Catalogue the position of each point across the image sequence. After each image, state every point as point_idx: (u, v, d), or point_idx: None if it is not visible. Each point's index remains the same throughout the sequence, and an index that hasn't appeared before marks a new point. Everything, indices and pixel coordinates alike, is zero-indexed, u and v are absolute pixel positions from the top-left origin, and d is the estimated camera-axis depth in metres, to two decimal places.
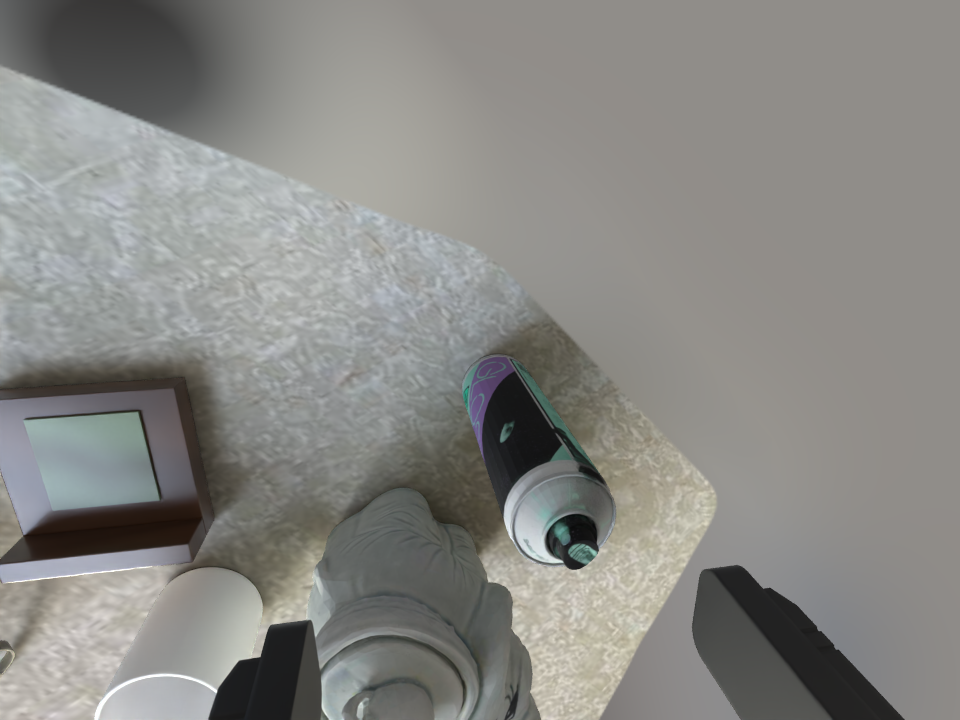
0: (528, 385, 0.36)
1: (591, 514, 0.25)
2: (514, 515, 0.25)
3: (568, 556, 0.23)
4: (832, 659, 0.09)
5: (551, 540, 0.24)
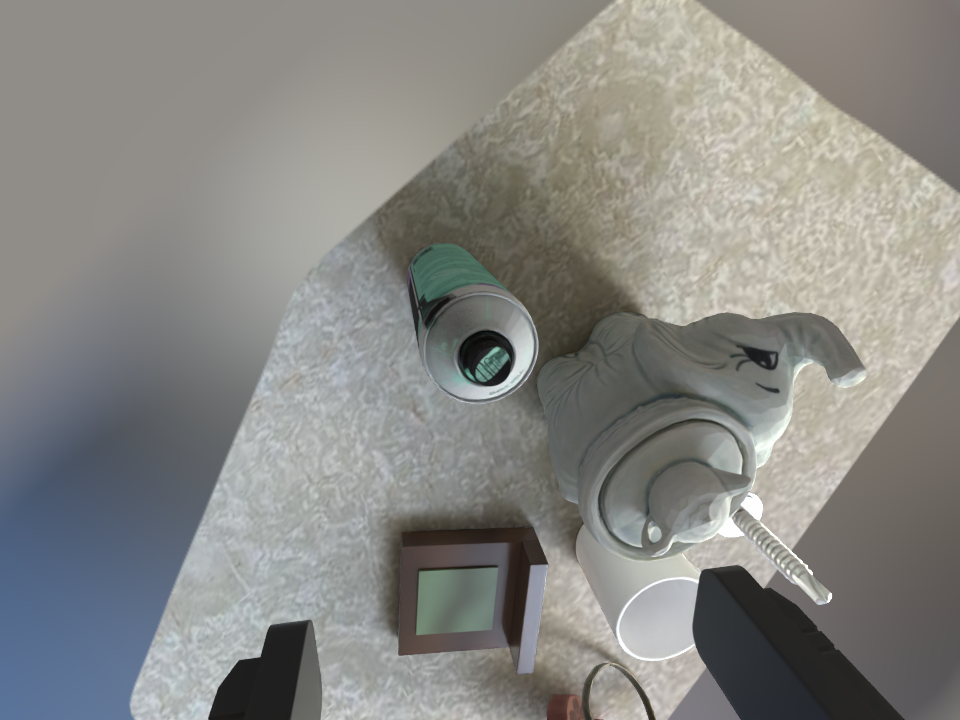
0: (413, 279, 0.34)
1: (463, 335, 0.23)
2: (463, 399, 0.25)
3: (490, 381, 0.22)
4: (832, 659, 0.09)
5: None
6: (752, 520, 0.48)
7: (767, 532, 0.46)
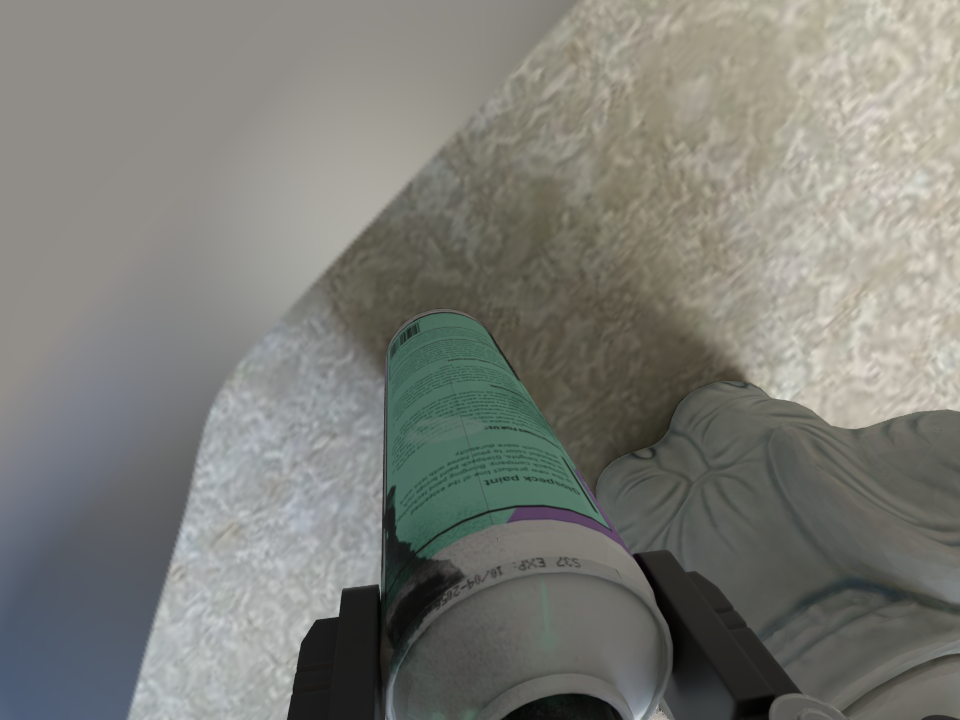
0: (387, 399, 0.19)
1: (487, 713, 0.08)
2: None
3: None
4: (742, 636, 0.10)
5: None
6: None
7: None
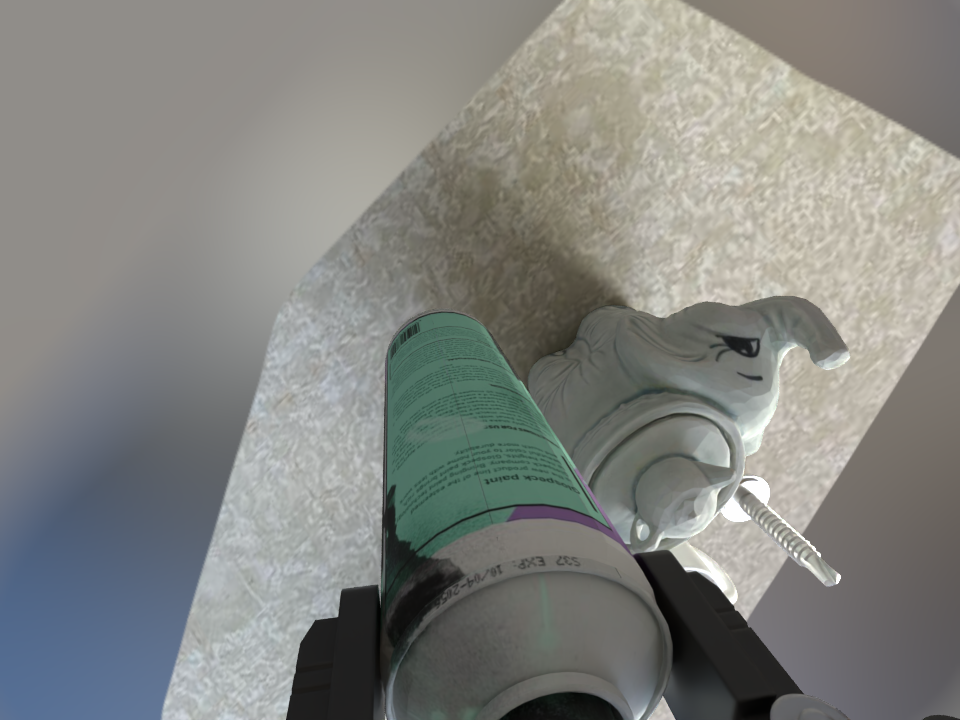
0: (387, 399, 0.19)
1: (487, 712, 0.08)
2: None
3: None
4: (743, 636, 0.10)
5: None
6: (758, 504, 0.47)
7: (774, 515, 0.46)
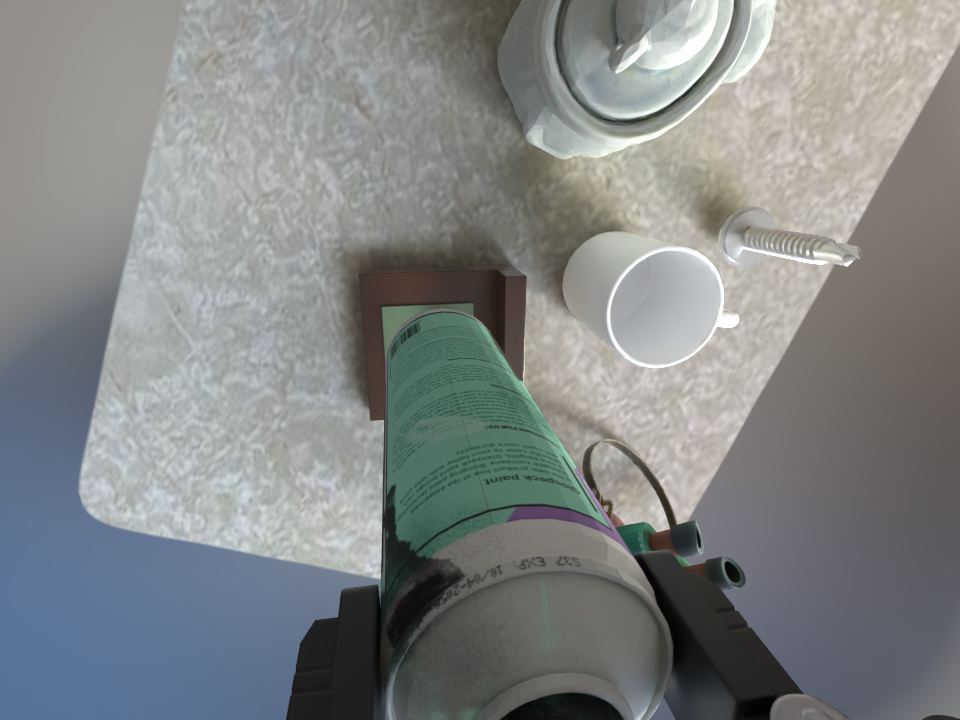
0: (387, 398, 0.19)
1: (487, 713, 0.08)
2: None
3: None
4: (743, 636, 0.10)
5: None
6: (763, 229, 0.41)
7: (781, 231, 0.40)
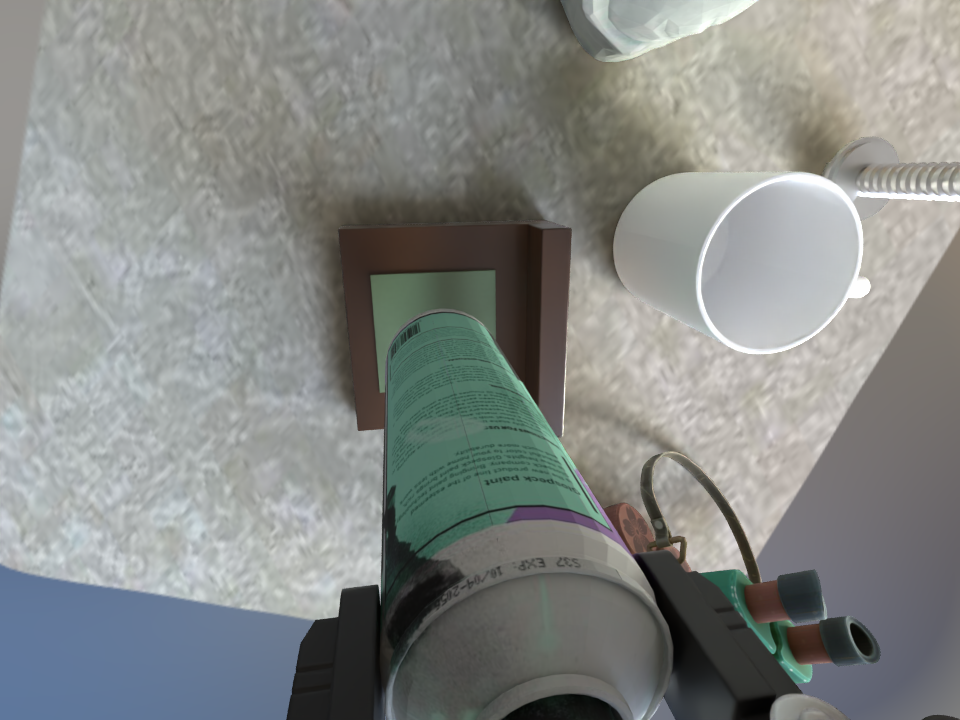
0: (387, 399, 0.19)
1: (487, 714, 0.08)
2: None
3: None
4: (742, 636, 0.10)
5: None
6: (892, 165, 0.30)
7: (924, 165, 0.28)
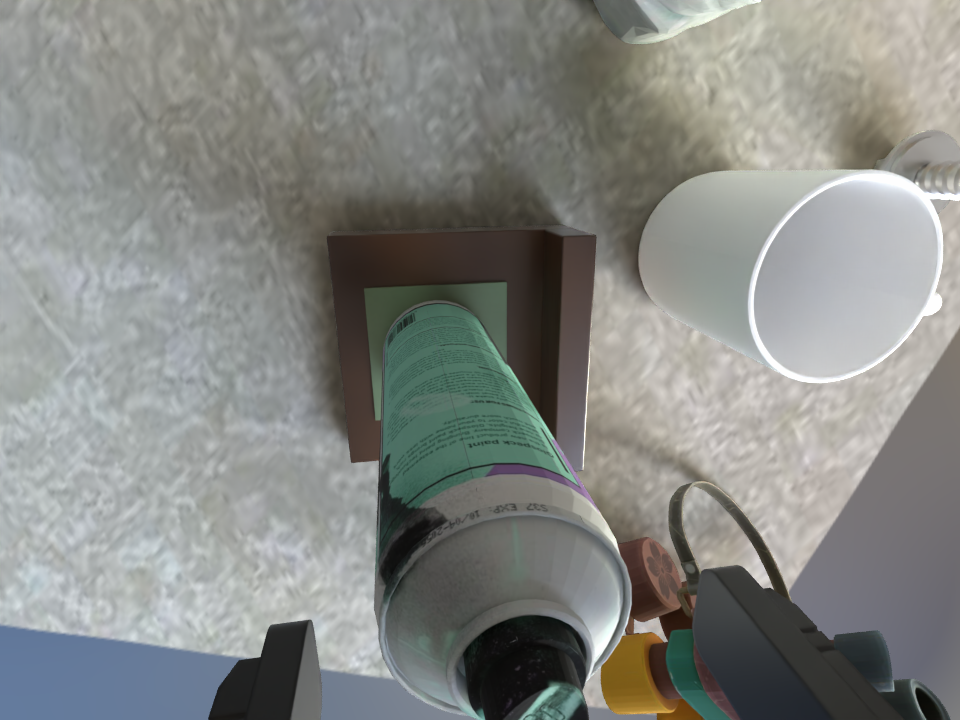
0: (384, 382, 0.21)
1: (465, 632, 0.09)
2: None
3: None
4: (832, 659, 0.09)
5: None
6: (959, 163, 0.26)
7: None
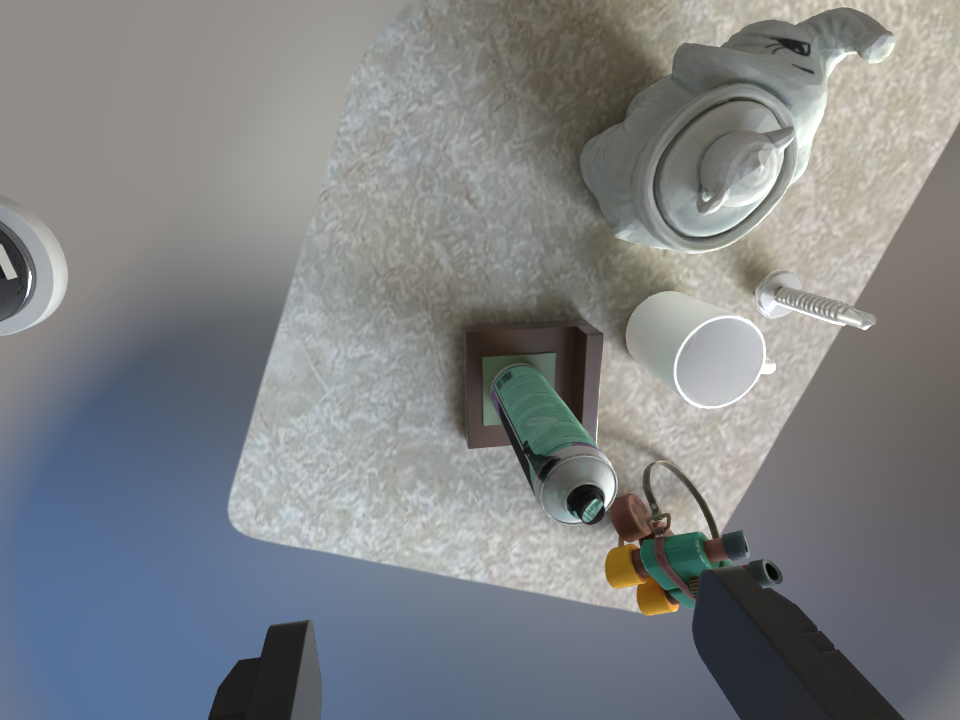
0: (505, 409, 0.45)
1: (569, 489, 0.33)
2: (567, 523, 0.36)
3: (591, 521, 0.33)
4: (832, 659, 0.09)
5: None
6: (793, 290, 0.50)
7: (809, 294, 0.49)
